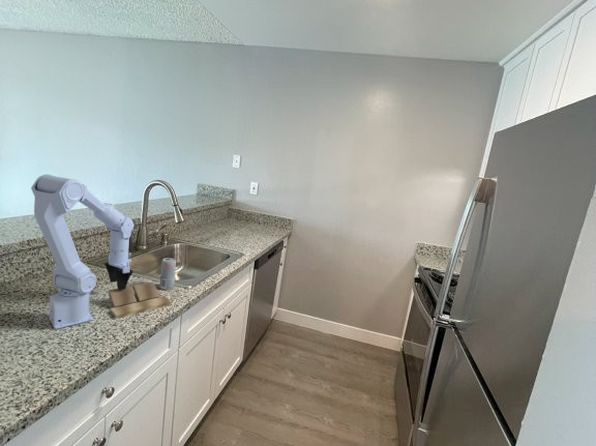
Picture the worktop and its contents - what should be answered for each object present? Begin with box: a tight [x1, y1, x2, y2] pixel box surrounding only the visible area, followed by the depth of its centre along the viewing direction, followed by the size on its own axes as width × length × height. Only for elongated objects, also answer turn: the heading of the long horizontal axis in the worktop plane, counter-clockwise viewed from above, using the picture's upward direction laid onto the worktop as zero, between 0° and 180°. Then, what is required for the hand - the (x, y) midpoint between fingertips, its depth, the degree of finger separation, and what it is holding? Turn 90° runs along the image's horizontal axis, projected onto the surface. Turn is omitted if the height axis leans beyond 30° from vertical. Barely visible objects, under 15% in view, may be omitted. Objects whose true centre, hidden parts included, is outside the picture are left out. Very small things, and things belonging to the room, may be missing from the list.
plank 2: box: [132, 281, 161, 302], centre depth 110 cm, size 7×7×1 cm
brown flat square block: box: [107, 285, 138, 308], centre depth 104 cm, size 7×7×1 cm
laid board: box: [109, 296, 172, 319], centre depth 104 cm, size 18×6×1 cm, turn 140°
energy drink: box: [159, 257, 177, 291], centre depth 121 cm, size 5×5×12 cm
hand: (117, 285), depth 107 cm, fingers open, 7 cm apart
